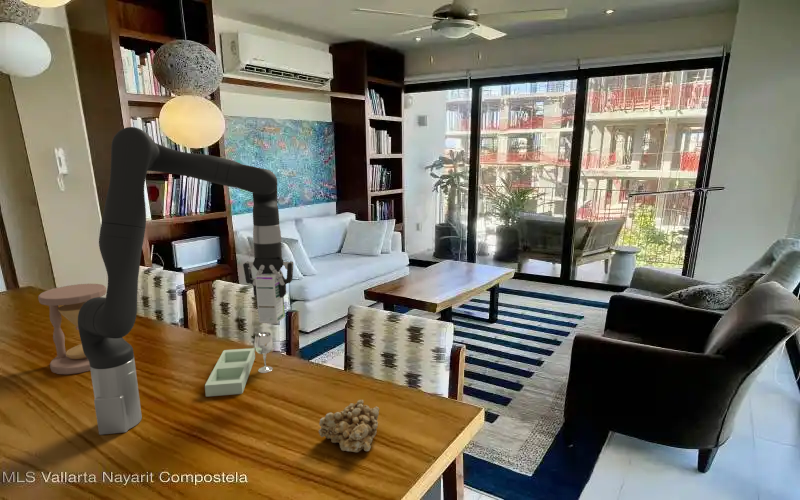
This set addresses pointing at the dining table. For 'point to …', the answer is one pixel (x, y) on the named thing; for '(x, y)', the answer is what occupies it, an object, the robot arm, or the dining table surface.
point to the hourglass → (72, 303)
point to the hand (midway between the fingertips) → (270, 296)
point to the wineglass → (264, 348)
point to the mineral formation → (351, 427)
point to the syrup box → (269, 299)
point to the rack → (230, 372)
